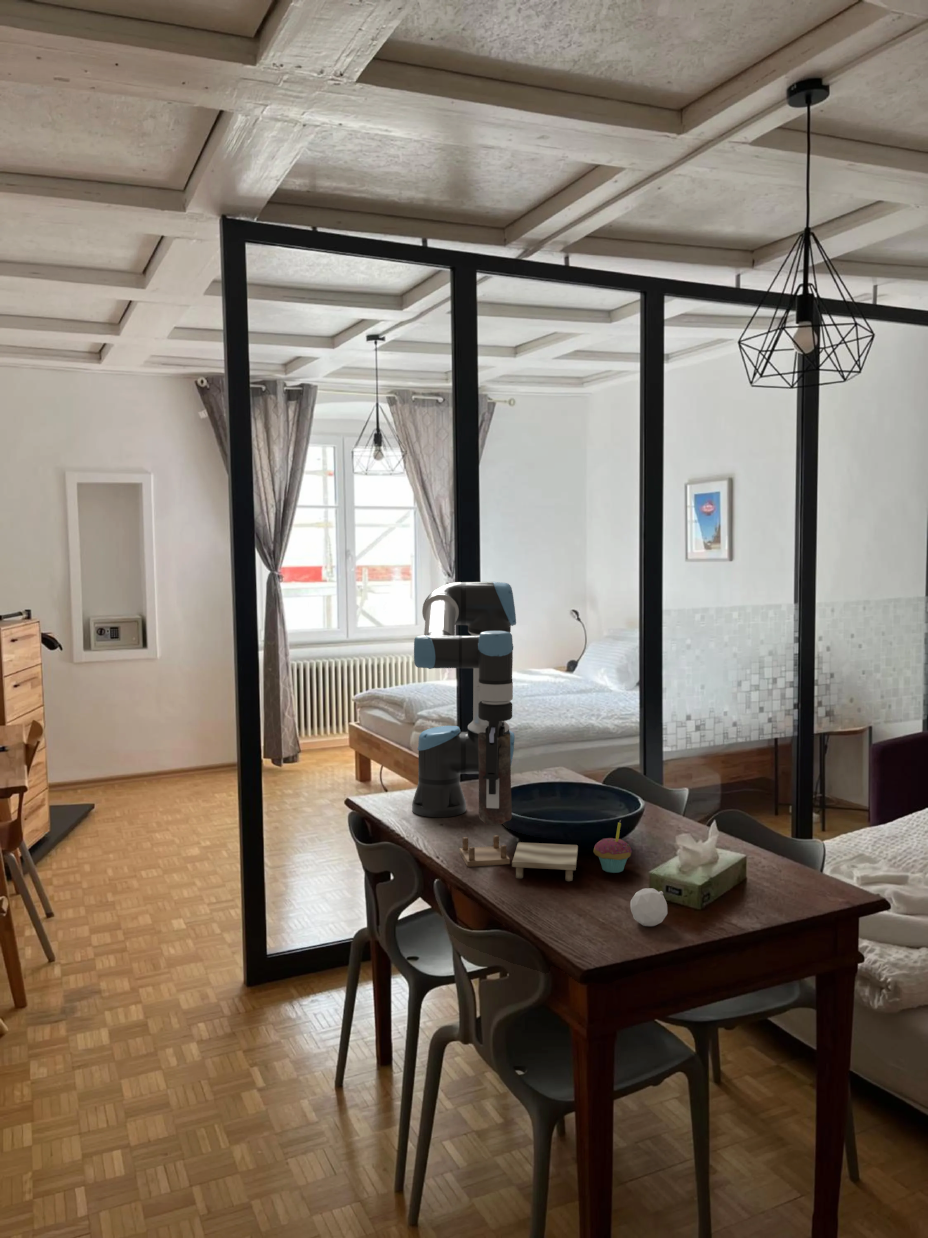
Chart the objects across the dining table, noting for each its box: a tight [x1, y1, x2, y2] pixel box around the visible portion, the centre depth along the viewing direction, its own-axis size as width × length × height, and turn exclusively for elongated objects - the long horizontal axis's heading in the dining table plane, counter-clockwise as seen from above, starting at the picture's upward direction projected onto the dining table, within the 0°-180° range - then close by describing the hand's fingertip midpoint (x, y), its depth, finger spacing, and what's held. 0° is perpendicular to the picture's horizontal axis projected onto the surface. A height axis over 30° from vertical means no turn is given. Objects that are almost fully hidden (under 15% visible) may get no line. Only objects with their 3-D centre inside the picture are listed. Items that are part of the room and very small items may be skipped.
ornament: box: [629, 887, 668, 927], centre depth 184 cm, size 7×7×8 cm
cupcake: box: [593, 819, 633, 874], centre depth 216 cm, size 9×8×12 cm
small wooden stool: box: [511, 841, 579, 882], centre depth 216 cm, size 14×14×4 cm
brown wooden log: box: [478, 732, 513, 826], centre depth 210 cm, size 8×7×20 cm
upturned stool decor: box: [459, 834, 511, 868], centre depth 224 cm, size 10×10×4 cm
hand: (494, 802), depth 211 cm, fingers closed on brown wooden log, 7 cm apart
